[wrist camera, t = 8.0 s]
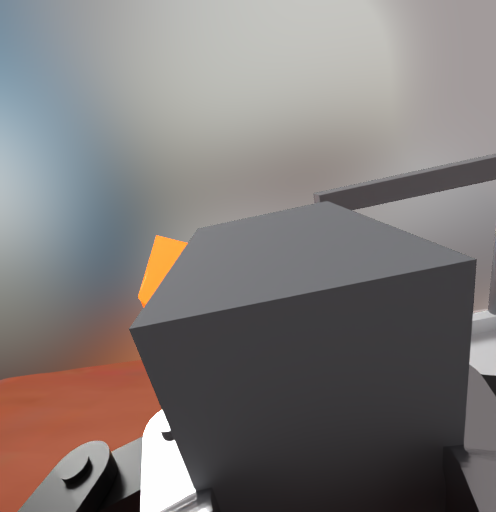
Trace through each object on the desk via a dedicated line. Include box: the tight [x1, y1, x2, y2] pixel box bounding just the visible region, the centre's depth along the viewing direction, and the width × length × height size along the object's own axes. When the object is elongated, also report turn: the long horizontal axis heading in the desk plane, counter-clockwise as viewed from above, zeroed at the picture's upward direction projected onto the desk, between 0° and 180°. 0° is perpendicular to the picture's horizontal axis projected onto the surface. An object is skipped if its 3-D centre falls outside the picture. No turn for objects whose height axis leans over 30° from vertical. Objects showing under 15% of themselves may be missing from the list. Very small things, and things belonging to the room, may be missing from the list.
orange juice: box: [138, 236, 188, 308], centre depth 28 cm, size 8×9×20 cm
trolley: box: [314, 154, 496, 376], centre depth 19 cm, size 18×14×22 cm
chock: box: [129, 201, 477, 512], centre depth 8 cm, size 4×6×11 cm
